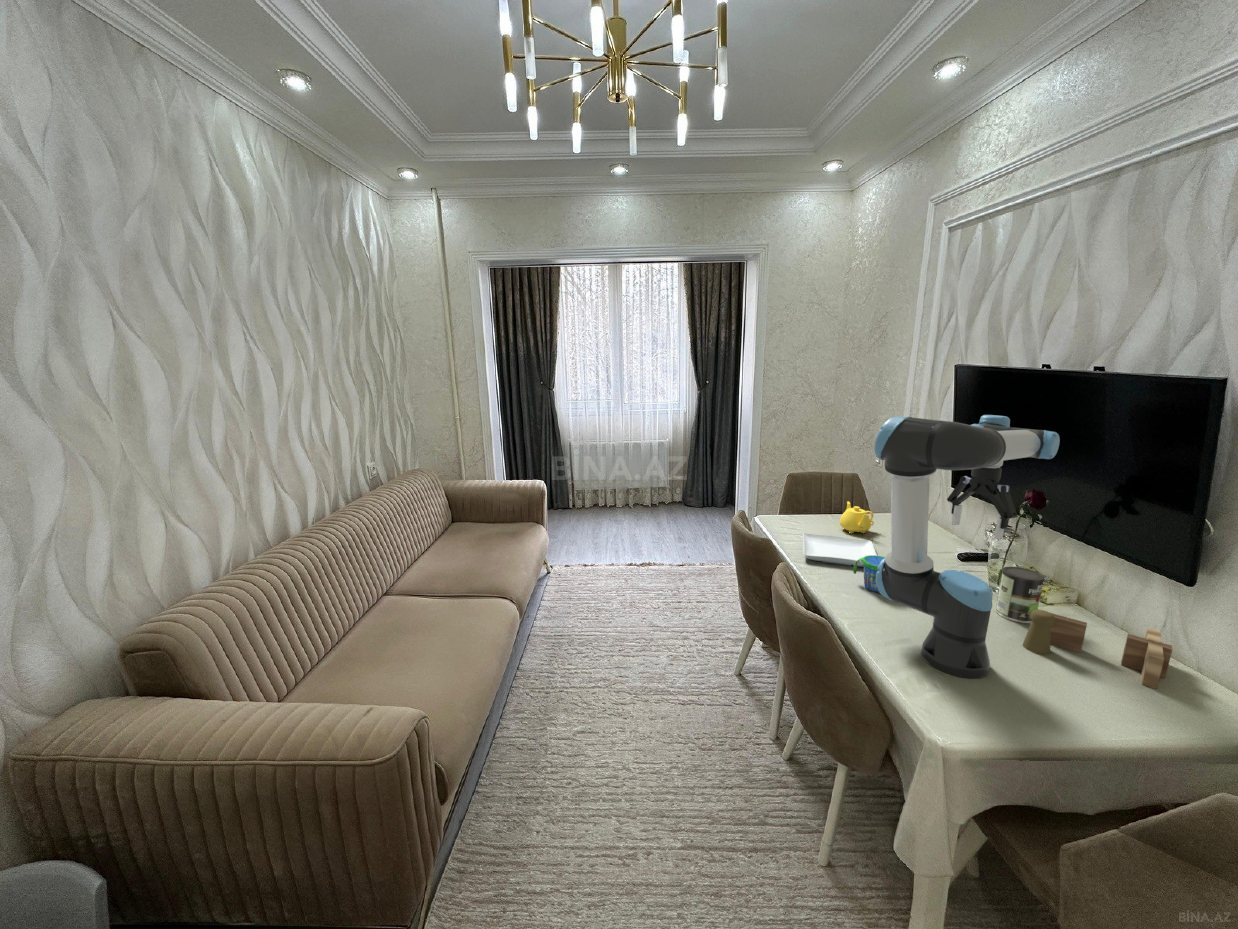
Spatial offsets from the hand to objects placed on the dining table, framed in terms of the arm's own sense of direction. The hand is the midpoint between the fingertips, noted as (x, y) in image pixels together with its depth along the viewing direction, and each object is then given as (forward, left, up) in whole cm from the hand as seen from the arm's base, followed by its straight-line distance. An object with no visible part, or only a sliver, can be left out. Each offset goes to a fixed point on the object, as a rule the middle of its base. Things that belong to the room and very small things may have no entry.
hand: (976, 531), depth 164 cm
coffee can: (+1, -13, -25) cm, 28 cm away
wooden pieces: (-11, -33, -24) cm, 43 cm away
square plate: (+12, +46, -25) cm, 54 cm away
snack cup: (-10, +24, -25) cm, 36 cm away
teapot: (+46, +51, -25) cm, 73 cm away
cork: (-18, -20, -25) cm, 37 cm away
